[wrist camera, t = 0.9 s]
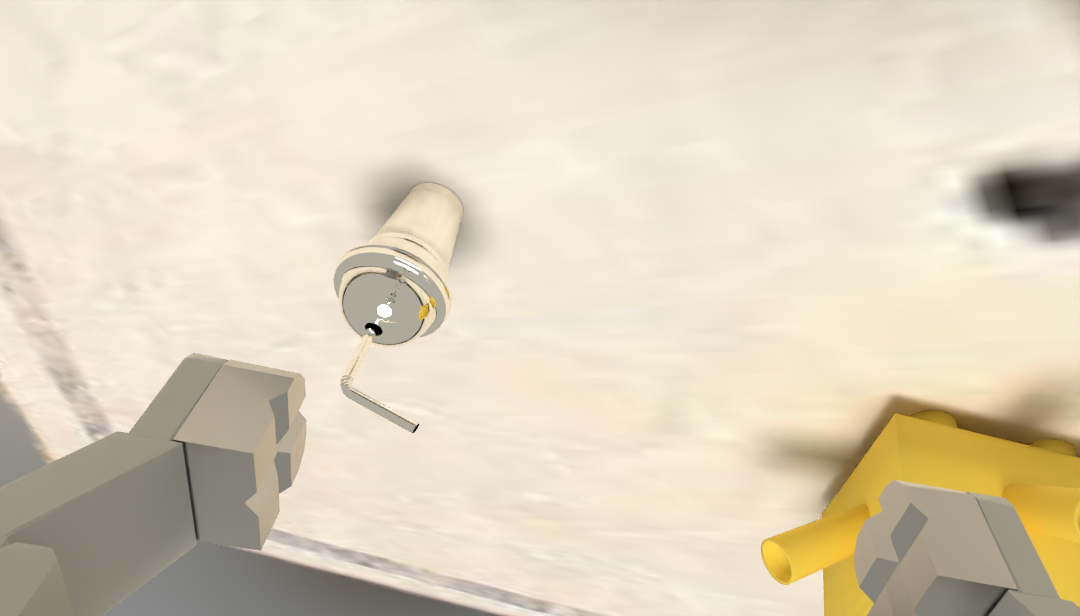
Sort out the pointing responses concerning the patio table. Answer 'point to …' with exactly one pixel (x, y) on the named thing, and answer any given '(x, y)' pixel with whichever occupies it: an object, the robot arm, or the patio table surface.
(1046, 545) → the yellow teapot
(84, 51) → the patio table surface
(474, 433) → the patio table surface
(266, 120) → the patio table surface
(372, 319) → the cup with straw
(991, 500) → the robot arm
